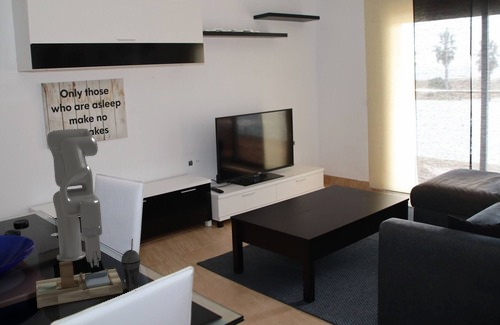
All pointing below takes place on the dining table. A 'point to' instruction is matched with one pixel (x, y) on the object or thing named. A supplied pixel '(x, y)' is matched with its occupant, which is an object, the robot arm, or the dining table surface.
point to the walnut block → (66, 274)
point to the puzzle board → (75, 289)
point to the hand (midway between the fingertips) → (95, 275)
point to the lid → (96, 279)
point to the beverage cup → (131, 268)
